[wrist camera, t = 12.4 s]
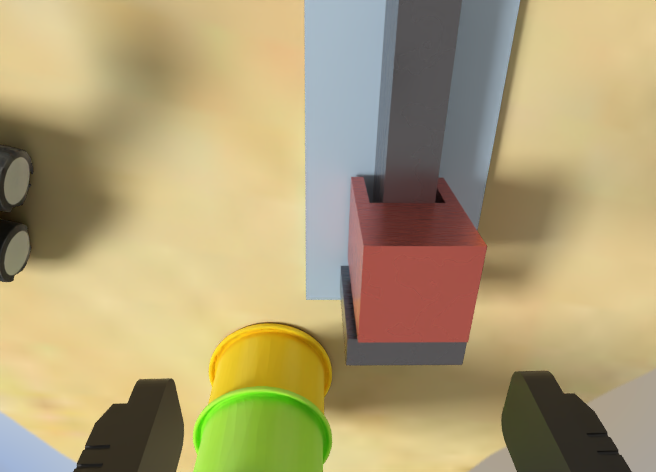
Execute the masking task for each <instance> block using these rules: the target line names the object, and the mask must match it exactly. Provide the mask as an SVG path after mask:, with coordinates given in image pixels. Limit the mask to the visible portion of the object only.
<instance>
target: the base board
mask: <svg viewBox="0 0 656 472" xmlns="http://www.w3.org/2000/svg"><path fill="white" fill-rule="evenodd" d="M519 4H520V0H462V6H461V13H460V21H459V28H458V36H457V43H456V51H455V58H454V65H453V73H452V80H451V88H450V95H449V103H448V110H447V117H446V125H445V132H444V140H443V147H442V155H441V162H440V169H439V177H443V178H444V179H445V181H446V182H447V184H448V186H449V187H450V189H451V190H452V192H453V193H454V195H455V197H456V198H457V200H458V201H459V203H460V204H461V206H462V208H463V209H464V211H465V212H466V214H467V215H468V217H469V219H470V220H471V222H472V223H473V225H474V227H475V228H476V230H478V224H479V219H480V214H481V208H482V203H483V198H484V192H485V187H486V181H487V176H488V171H489V165H490V160H491V155H492V149H493V144H494V138H495V133H496V128H497V122H498V117H499V112H500V106H501V101H502V95H503V90H504V85H505V79H506V74H507V69H508V63H509V58H510V52H511V47H512V42H513V36H514V31H515V25H516V20H517V15H518V9H519ZM385 7H386V0H305V170H306V300H341V297H340V269H341V266H349V264H348V236H349V213H350V189H351V177H364V181H365V186H366V190H367V194H368V198H369V202H370V203H372V202H373V187H374V172H375V157H376V142H377V127H378V112H379V97H380V82H381V67H382V52H383V37H384V22H385Z"/></svg>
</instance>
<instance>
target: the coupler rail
mask: <svg viewBox="0 0 656 472" xmlns="http://www.w3.org/2000/svg"><path fill="white" fill-rule="evenodd" d="M461 6H462V0H386V7H385V22H384V37H383V52H382V67H381V82H380V97H379V112H378V127H377V142H376V157H375V172H374V187H373V202H372V203H435V199H436V192H437V184H438V177H439V169H440V162H441V155H442V147H443V140H444V132H445V125H446V117H447V110H448V103H449V95H450V88H451V80H452V73H453V65H454V58H455V51H456V43H457V36H458V28H459V21H460V13H461ZM340 297H341V309H342V321H343V333H344V345H345V357H346V365H462V364H463V359H464V354H465V349H466V344H467V342H374V343H358V340H357V331H356V323H355V315H354V306H353V298H352V289H351V281H350V273H349V266H341V269H340Z"/></svg>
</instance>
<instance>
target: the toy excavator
mask: <svg viewBox="0 0 656 472" xmlns="http://www.w3.org/2000/svg"><path fill="white" fill-rule="evenodd" d="M30 172H31V174H33V166H32V163H31V157H30V156H29V155H28V153H27V152H26V151H24V150H21V149H17V148H13V147H9V146H4V145H0V211H4V212H11V210H12V208H13V207H16V206H20V205H23V202H24V201H25V198H26V196H27V192H28V190H29V187H30V186H31V184H29V177H30ZM27 229H28V228H27V226H26V225H25V224H22V223H17V222H12V221H7V220H1V219H0V281H2V282H11V281H13V280H14V276H15V275H16V274H18V273H19V272H21V271H22V270H23V269H24V268H25V266H26V264H27V261H28V258H29V256H30V255H29V254H30V250H31V246H30V242H29V236H28V232H27Z"/></svg>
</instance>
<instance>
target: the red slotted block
mask: <svg viewBox="0 0 656 472" xmlns="http://www.w3.org/2000/svg"><path fill="white" fill-rule="evenodd" d="M486 249H487V245H486V244H485V242H484V241H483V239H482V238H481V236H480V234H479V233H478V231H477V230H476V228H475V227H474V225H473V223H472V222H471V220H470V219H469V217H468V215H467V214H466V212H465V211H464V209H463V208H462V206H461V204H460V203H459V201H458V200H457V198H456V197H455V195H454V193H453V192H452V190H451V189H450V187H449V186H448V184H447V182H446V181H445V179H444V178H443V177H438V184H437V192H436V199H435V203H370V202H369V198H368V194H367V190H366V186H365V181H364V177H351V189H350V213H349V236H348V264H349V273H350V281H351V289H352V298H353V306H354V315H355V323H356V331H357V340H358V343H374V342H468V339H469V334H470V329H471V324H472V319H473V314H474V309H475V304H476V299H477V294H478V289H479V284H480V279H481V274H482V269H483V264H484V259H485V254H486Z"/></svg>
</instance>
